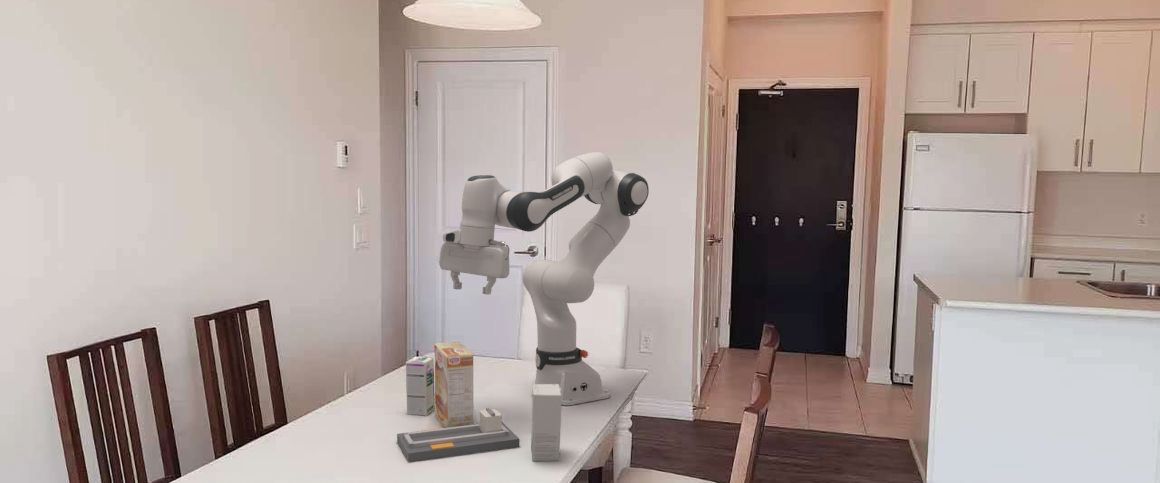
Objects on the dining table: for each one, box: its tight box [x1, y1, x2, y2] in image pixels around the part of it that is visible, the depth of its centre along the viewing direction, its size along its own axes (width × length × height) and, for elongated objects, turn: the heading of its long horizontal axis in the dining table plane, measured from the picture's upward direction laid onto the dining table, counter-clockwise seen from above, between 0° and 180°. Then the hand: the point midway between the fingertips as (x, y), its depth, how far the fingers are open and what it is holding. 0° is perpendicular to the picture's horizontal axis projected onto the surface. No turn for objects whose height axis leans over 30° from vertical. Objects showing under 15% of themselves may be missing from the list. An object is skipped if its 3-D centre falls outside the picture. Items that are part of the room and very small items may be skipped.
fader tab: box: [479, 407, 503, 433], centre depth 190 cm, size 4×5×5 cm
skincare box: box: [530, 383, 562, 462], centre depth 181 cm, size 8×7×16 cm
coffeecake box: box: [433, 341, 475, 428], centre depth 202 cm, size 15×7×20 cm, turn 22°
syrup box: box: [405, 356, 435, 417], centre depth 211 cm, size 6×6×14 cm
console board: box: [396, 421, 521, 463], centre depth 187 cm, size 26×14×3 cm, turn 113°
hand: (471, 291), depth 203 cm, fingers open, 8 cm apart
